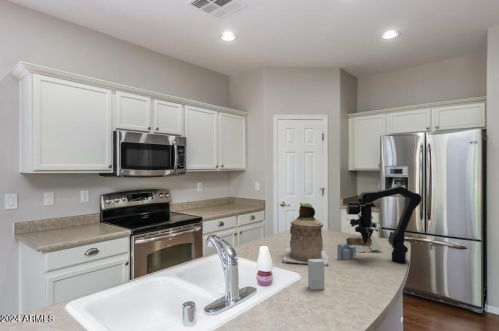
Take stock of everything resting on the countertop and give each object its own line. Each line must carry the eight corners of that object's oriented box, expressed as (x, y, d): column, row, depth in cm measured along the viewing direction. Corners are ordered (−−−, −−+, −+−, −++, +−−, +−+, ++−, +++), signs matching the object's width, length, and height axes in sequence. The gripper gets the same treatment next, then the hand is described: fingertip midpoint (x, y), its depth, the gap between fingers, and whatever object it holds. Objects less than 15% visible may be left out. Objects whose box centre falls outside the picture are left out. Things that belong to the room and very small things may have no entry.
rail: (372, 244, 167) (371, 238, 167) (370, 246, 164) (369, 239, 165) (349, 243, 175) (348, 237, 176) (347, 244, 173) (346, 238, 173)
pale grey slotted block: (380, 256, 188) (370, 236, 199) (383, 248, 182) (372, 228, 193) (354, 260, 188) (346, 240, 199) (356, 253, 182) (347, 232, 193)
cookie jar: (329, 267, 156) (329, 205, 156) (282, 263, 161) (282, 204, 161) (326, 253, 181) (327, 200, 180) (285, 250, 185) (286, 199, 185)
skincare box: (321, 285, 131) (321, 258, 131) (324, 290, 127) (324, 261, 127) (307, 286, 131) (307, 258, 131) (310, 290, 126) (310, 261, 126)
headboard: (357, 253, 180) (357, 239, 180) (345, 261, 165) (345, 245, 165) (348, 252, 183) (348, 237, 183) (336, 259, 169) (336, 243, 169)
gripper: (357, 211, 180) (357, 237, 180) (345, 215, 165) (345, 243, 165) (376, 213, 173) (376, 240, 173) (366, 217, 158) (366, 247, 158)
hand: (366, 242), depth 168 cm, fingers closed on rail, 3 cm apart
